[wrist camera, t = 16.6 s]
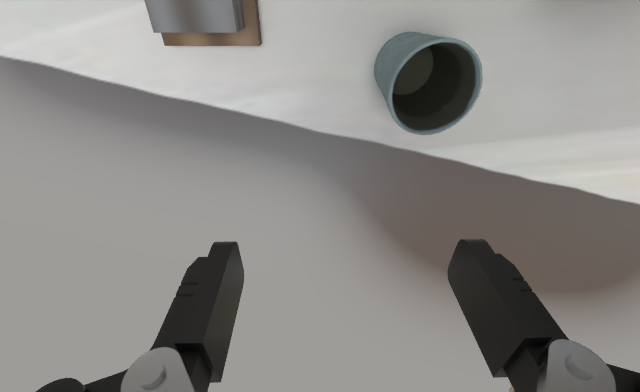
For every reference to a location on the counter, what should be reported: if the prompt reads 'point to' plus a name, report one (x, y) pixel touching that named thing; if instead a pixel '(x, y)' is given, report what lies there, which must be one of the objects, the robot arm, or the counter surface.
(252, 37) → the base
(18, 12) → the counter surface
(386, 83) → the teal cup
